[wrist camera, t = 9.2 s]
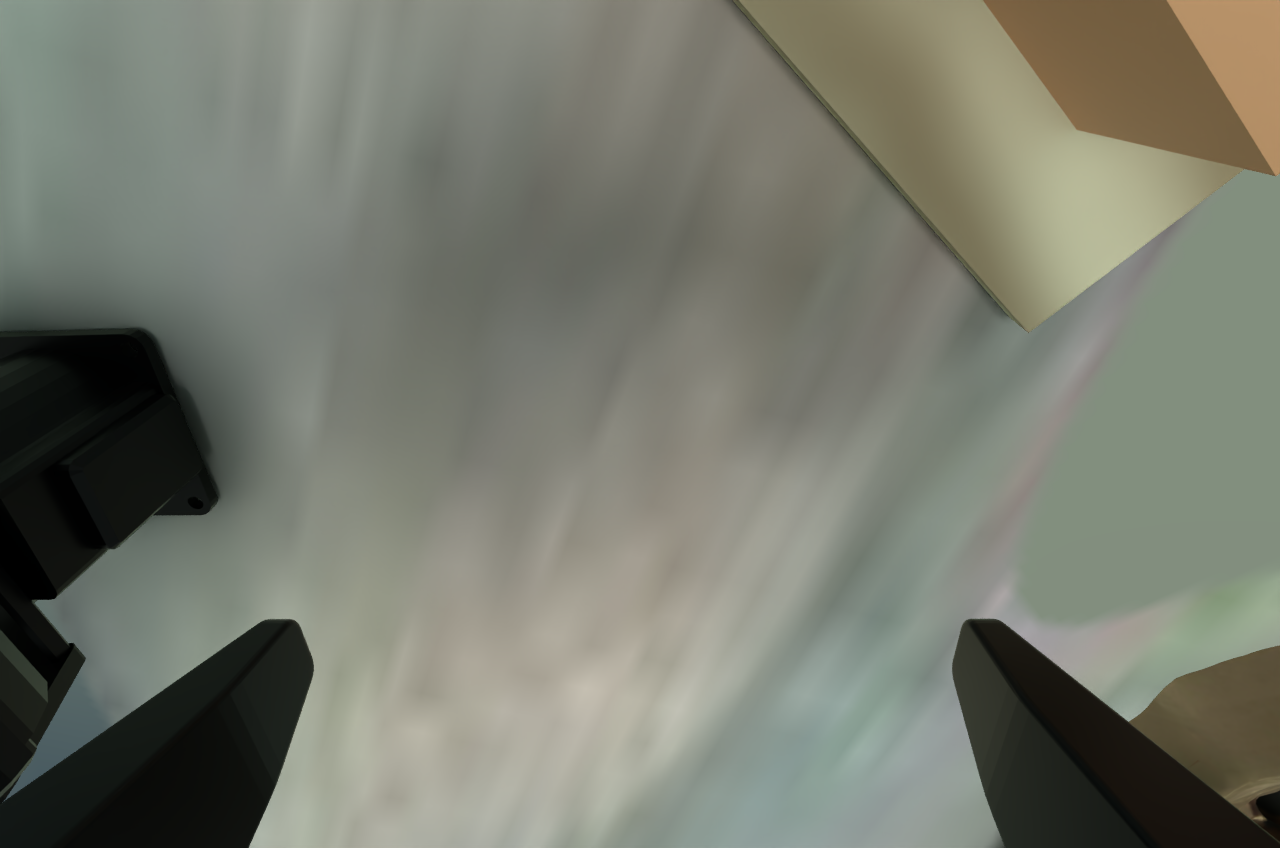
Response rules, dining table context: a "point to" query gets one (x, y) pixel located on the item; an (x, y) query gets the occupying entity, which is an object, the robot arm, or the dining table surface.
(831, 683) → the dining table surface
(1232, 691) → the food dish
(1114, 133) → the letter cube
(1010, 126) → the cream flat square slab
